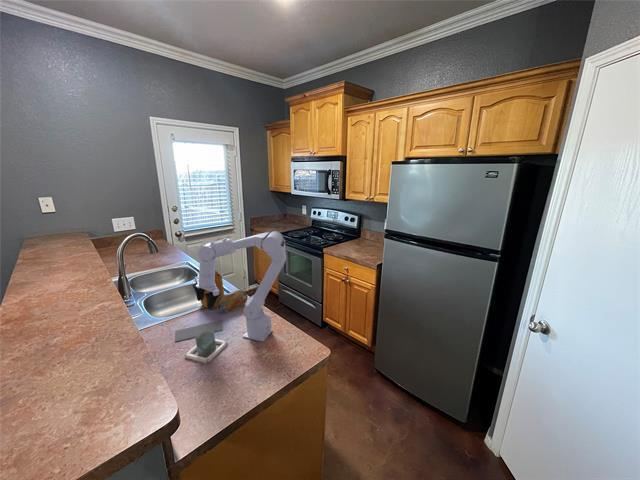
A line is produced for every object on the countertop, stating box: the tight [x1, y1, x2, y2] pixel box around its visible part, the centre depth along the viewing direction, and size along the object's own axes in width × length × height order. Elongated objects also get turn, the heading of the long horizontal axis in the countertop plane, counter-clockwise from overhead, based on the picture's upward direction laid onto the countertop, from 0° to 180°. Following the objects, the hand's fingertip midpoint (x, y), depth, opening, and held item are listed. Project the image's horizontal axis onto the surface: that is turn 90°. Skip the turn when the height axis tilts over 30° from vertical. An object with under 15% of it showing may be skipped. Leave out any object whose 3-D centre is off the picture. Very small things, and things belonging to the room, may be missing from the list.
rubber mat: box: [174, 319, 224, 343], centre depth 110 cm, size 18×8×1 cm, turn 116°
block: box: [194, 330, 217, 357], centre depth 97 cm, size 4×5×7 cm
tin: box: [216, 289, 248, 314], centre depth 126 cm, size 15×3×8 cm, turn 134°
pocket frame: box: [184, 338, 228, 364], centre depth 98 cm, size 10×11×1 cm
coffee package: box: [200, 269, 225, 310], centre depth 130 cm, size 10×12×22 cm
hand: (205, 304), depth 105 cm, fingers open, 7 cm apart
